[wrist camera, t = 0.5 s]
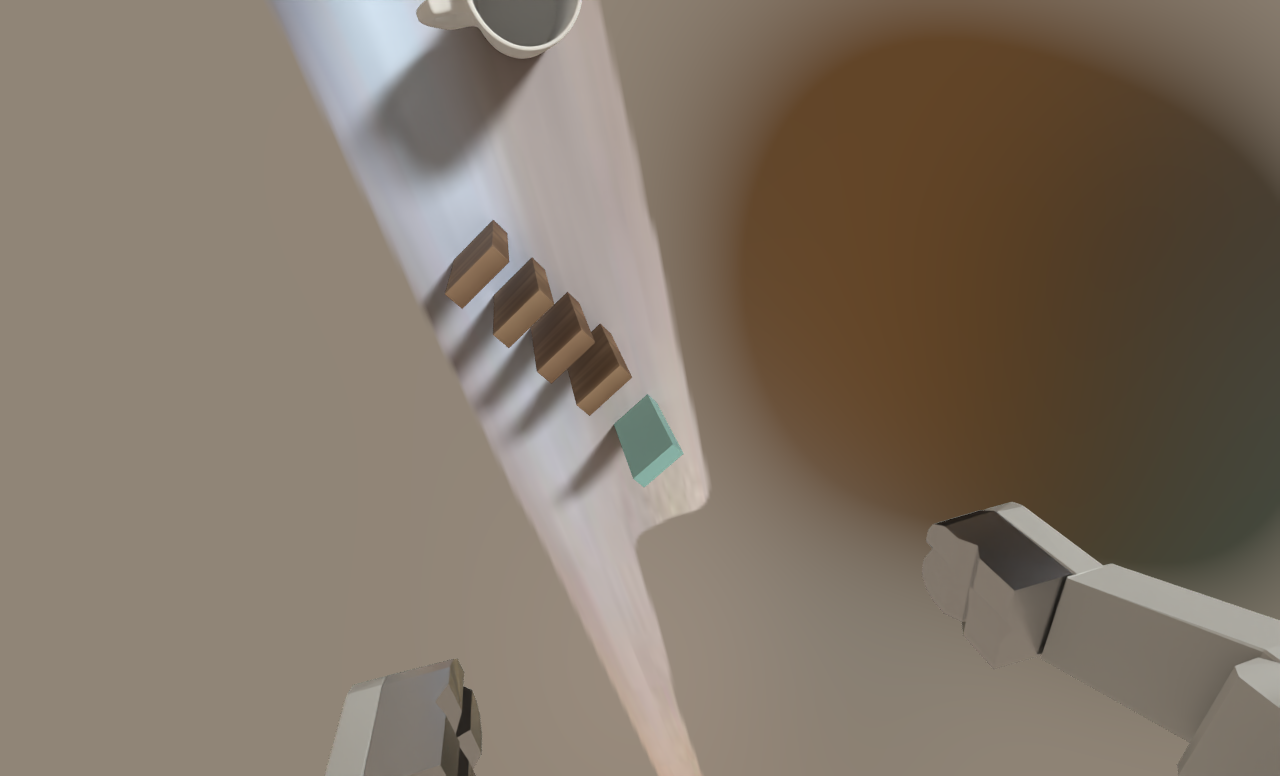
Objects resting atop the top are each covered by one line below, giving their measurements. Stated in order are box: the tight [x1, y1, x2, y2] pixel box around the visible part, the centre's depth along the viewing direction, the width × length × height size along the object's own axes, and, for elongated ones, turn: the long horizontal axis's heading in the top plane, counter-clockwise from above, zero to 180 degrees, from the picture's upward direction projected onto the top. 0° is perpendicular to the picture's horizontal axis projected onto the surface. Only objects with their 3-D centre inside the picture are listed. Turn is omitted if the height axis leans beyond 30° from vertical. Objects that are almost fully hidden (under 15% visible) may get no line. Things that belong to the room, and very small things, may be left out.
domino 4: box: [567, 324, 632, 416], centre depth 51 cm, size 2×5×10 cm, turn 132°
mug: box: [416, 0, 582, 59], centre depth 36 cm, size 10×7×12 cm, turn 101°
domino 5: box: [614, 394, 683, 487], centre depth 56 cm, size 2×5×10 cm, turn 131°
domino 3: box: [531, 292, 595, 383], centre depth 49 cm, size 2×5×10 cm, turn 131°
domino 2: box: [493, 258, 554, 348], centre depth 47 cm, size 2×5×10 cm, turn 132°
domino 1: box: [445, 220, 509, 309], centre depth 45 cm, size 2×5×10 cm, turn 131°
